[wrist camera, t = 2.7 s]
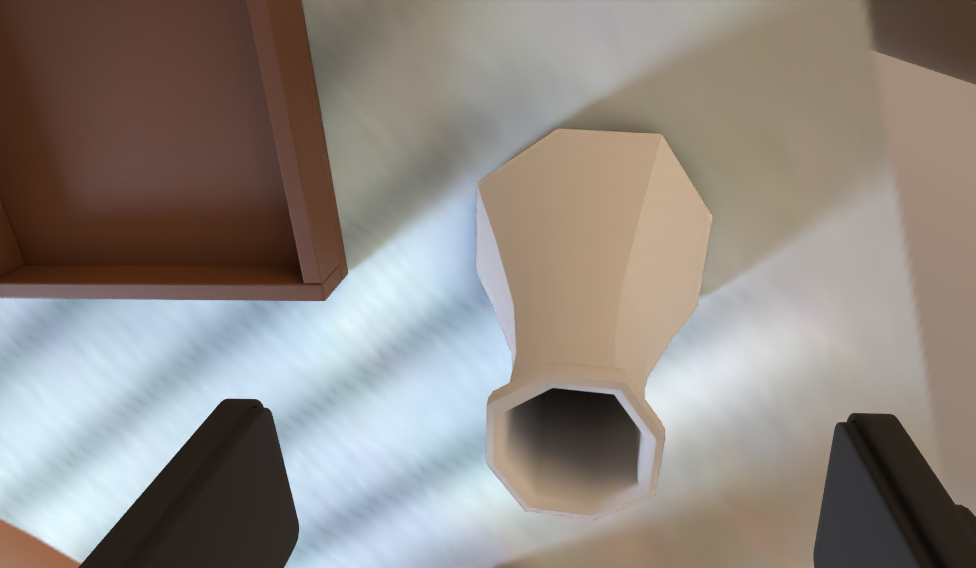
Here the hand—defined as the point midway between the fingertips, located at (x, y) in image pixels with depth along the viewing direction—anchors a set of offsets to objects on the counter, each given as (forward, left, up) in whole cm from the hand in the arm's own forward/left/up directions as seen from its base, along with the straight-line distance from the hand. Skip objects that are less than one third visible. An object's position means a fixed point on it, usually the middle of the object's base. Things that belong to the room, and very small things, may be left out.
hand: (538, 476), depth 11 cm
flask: (-1, 0, -11) cm, 11 cm away
